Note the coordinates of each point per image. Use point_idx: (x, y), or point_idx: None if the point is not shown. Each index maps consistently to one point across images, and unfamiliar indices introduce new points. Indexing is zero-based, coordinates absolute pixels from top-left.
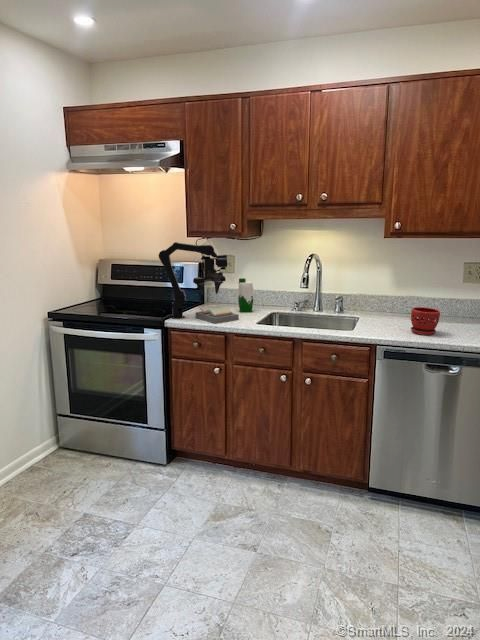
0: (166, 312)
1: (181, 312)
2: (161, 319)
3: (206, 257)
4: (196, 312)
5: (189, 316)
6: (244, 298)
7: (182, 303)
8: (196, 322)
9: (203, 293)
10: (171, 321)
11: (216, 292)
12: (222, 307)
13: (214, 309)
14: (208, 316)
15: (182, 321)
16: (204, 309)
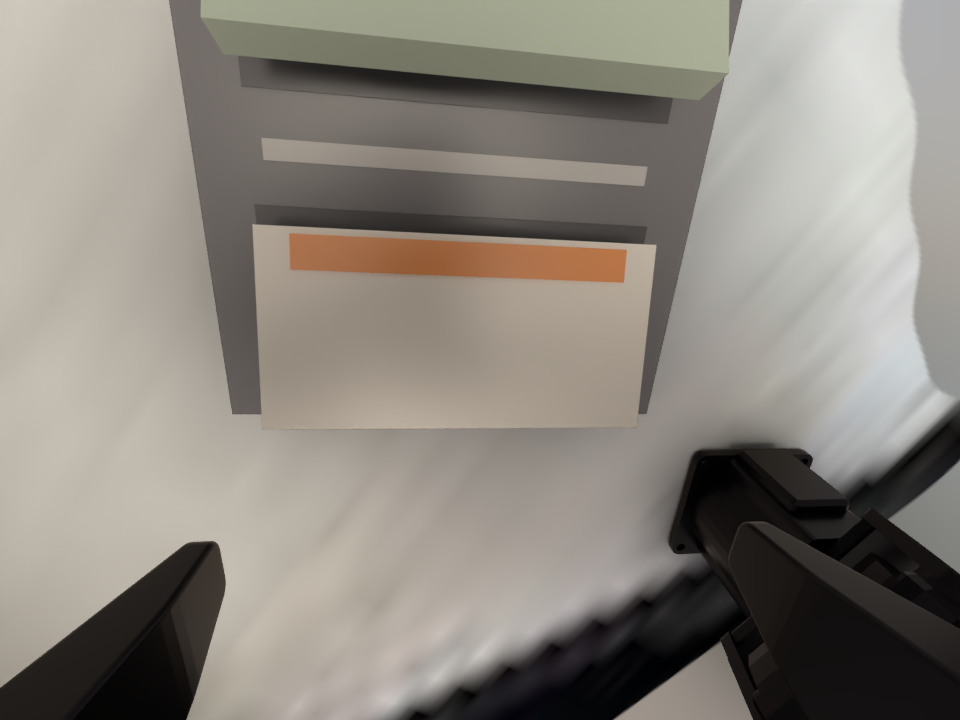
0: (644, 695)
1: (788, 482)
2: (885, 503)
3: None
4: (639, 406)
5: (622, 469)
6: None
7: (886, 565)
8: (814, 135)
9: (810, 560)
10: (912, 379)
11: (201, 587)
12: (360, 24)
13: (619, 16)
14: (737, 15)
15: (856, 305)
16: (623, 309)
